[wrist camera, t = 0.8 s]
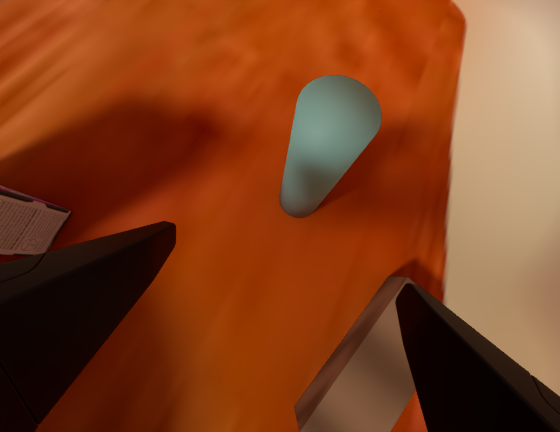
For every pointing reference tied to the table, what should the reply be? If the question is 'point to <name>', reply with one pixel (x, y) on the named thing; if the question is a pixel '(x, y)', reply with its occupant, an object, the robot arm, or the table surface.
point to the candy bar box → (28, 223)
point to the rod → (326, 139)
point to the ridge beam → (362, 373)
